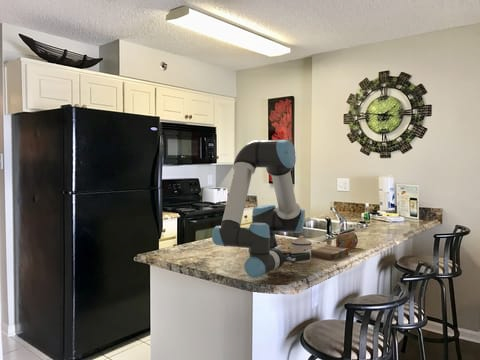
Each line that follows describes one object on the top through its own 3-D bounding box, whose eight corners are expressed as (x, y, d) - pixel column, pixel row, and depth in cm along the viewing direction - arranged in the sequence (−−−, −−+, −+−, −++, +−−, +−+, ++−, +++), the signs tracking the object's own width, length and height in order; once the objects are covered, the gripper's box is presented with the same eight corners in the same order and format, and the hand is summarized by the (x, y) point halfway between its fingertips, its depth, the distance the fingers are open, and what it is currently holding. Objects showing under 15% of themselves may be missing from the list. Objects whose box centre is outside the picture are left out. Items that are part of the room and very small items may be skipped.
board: (332, 260, 178) (332, 254, 178) (309, 256, 186) (310, 250, 186) (348, 254, 190) (348, 248, 190) (326, 250, 198) (326, 244, 198)
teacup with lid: (303, 264, 171) (303, 238, 170) (287, 261, 177) (287, 235, 177) (318, 260, 179) (319, 235, 179) (302, 256, 186) (303, 232, 185)
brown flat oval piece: (339, 251, 197) (339, 235, 197) (334, 250, 200) (334, 234, 200) (358, 248, 206) (358, 232, 206) (353, 246, 209) (353, 231, 208)
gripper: (245, 264, 161) (270, 254, 178) (301, 274, 147) (322, 262, 164) (245, 246, 160) (271, 238, 178) (301, 254, 146) (322, 245, 164)
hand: (295, 250), depth 171 cm, fingers open, 13 cm apart
